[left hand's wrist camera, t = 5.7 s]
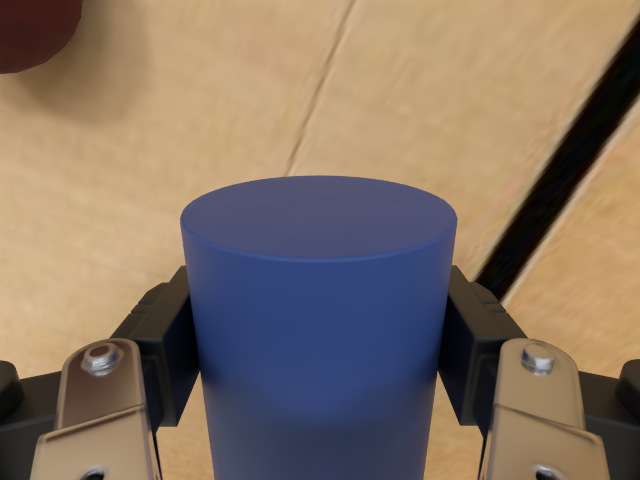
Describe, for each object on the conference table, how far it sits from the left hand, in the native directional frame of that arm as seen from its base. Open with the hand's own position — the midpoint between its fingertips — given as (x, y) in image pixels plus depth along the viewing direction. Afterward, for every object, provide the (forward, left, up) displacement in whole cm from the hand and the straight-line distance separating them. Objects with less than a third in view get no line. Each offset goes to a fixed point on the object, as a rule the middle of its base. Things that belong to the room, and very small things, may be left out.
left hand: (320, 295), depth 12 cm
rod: (0, +9, -2) cm, 9 cm away
